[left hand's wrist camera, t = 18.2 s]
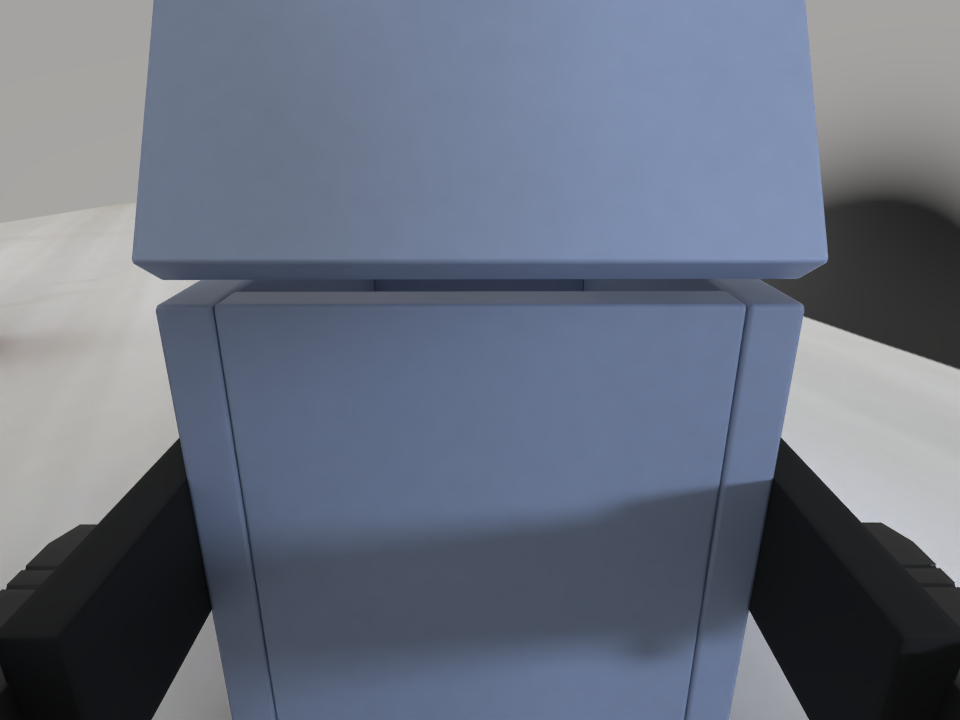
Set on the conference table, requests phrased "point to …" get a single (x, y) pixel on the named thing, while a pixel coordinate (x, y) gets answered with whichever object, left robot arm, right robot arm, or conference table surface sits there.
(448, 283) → the chest
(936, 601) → the left robot arm
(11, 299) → the conference table surface
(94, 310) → the conference table surface
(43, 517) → the conference table surface
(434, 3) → the lid
